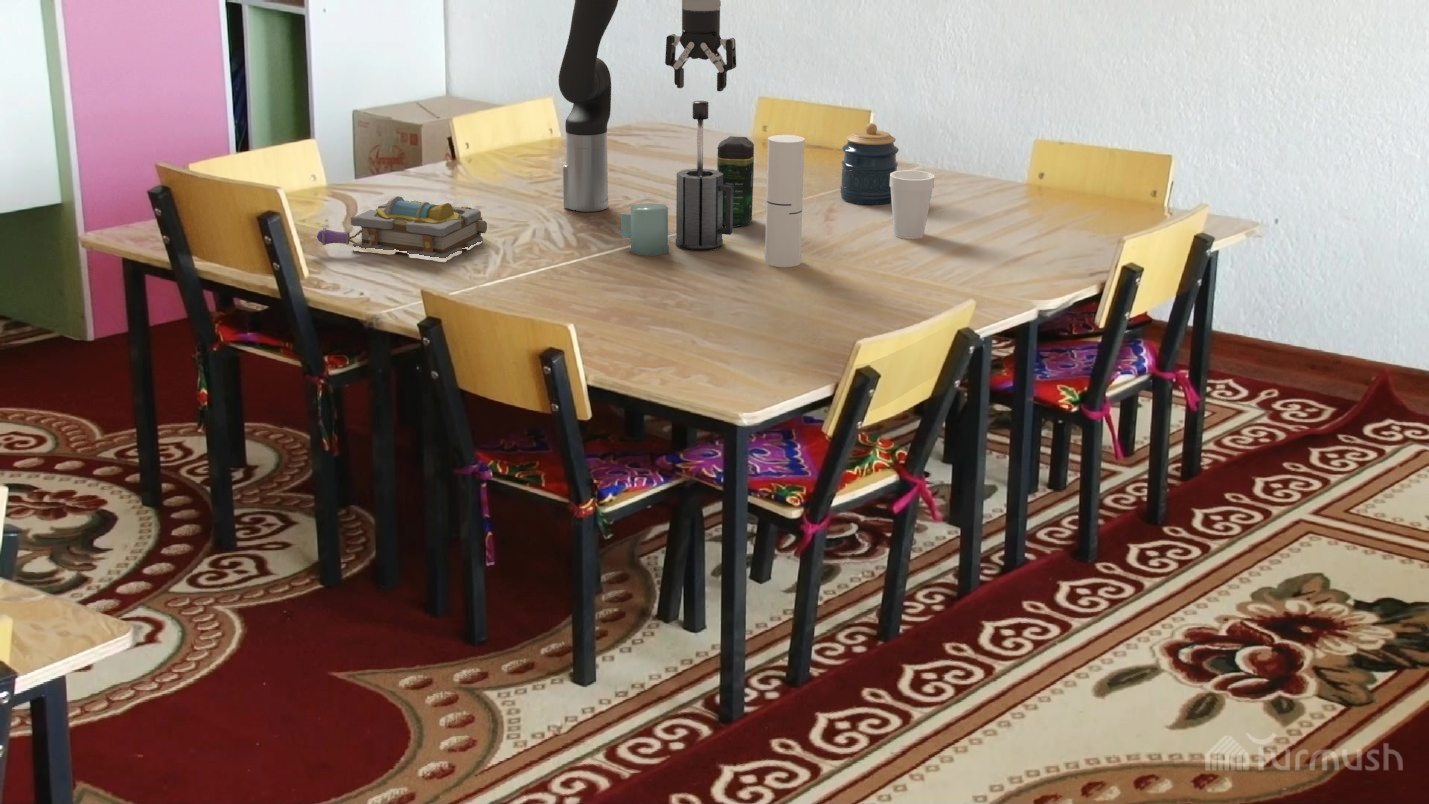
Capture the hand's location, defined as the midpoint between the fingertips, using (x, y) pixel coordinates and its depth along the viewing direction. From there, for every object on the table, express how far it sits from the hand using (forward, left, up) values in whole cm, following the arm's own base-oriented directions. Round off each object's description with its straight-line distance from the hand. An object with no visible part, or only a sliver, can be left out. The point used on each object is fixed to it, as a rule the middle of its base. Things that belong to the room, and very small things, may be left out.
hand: (700, 89), depth 316 cm
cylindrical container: (+20, -6, -32) cm, 39 cm away
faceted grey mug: (+1, 0, -32) cm, 32 cm away
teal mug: (-9, -8, -32) cm, 34 cm away
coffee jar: (+1, +20, -32) cm, 38 cm away
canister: (+23, +52, -32) cm, 65 cm away
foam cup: (+39, +24, -32) cm, 56 cm away
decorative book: (-55, -25, -33) cm, 69 cm away
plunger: (0, 0, -20) cm, 20 cm away
